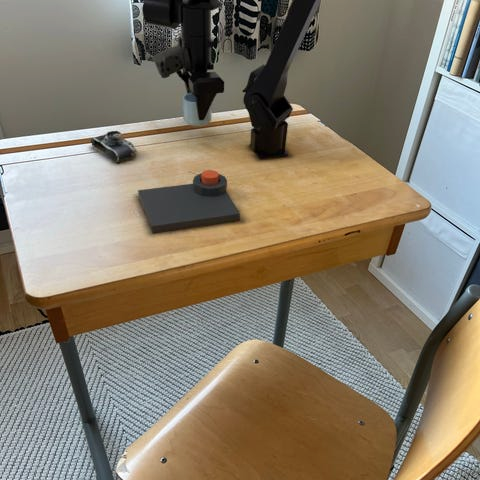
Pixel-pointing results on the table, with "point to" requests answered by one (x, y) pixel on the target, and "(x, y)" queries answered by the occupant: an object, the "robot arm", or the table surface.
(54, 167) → the table surface
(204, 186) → the grey base plate
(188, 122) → the cup
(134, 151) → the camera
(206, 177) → the button
